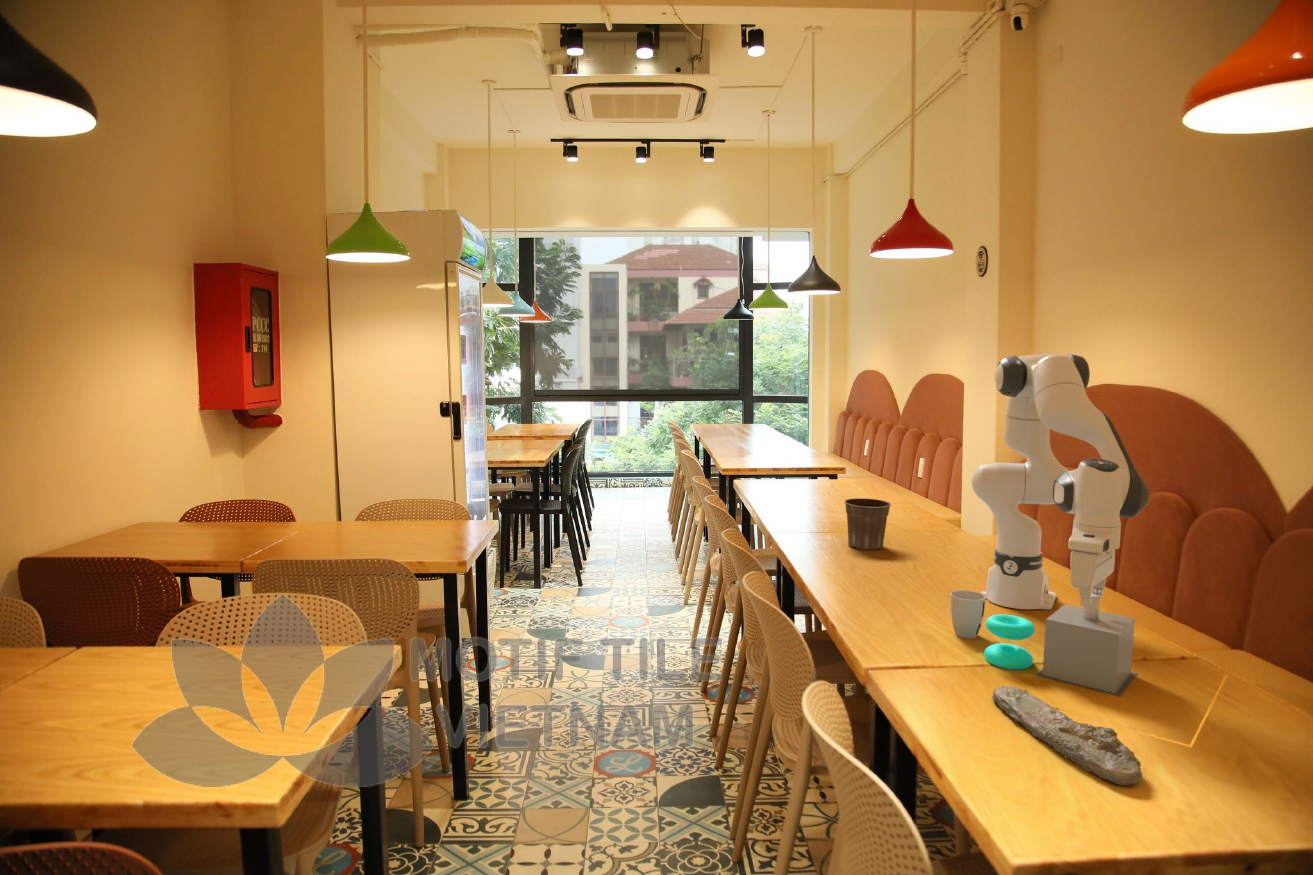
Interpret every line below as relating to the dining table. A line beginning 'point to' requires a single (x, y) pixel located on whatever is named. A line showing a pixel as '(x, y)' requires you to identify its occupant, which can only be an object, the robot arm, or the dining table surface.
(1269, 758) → the dining table surface
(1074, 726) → the elongated rock
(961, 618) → the cup
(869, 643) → the dining table surface
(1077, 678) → the cover
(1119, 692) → the mat
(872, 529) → the plant pot
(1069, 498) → the robot arm
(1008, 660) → the donuts
